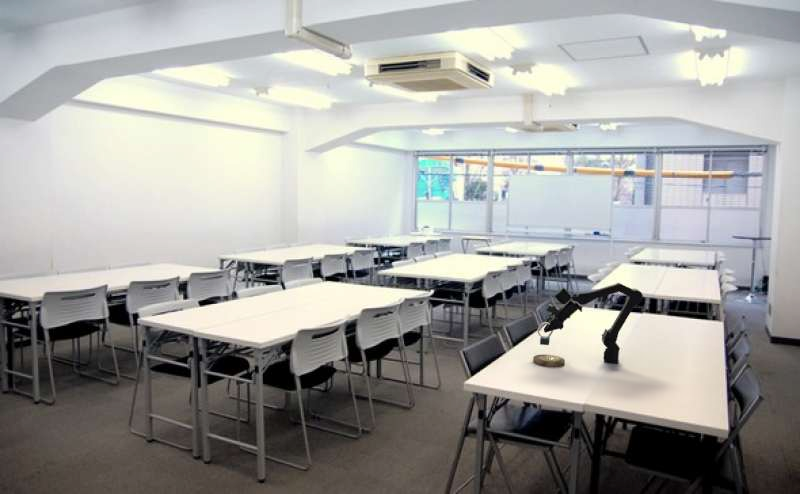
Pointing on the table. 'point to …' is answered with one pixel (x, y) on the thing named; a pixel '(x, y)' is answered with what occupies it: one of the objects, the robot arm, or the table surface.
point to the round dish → (549, 360)
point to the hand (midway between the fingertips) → (544, 330)
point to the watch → (544, 339)
